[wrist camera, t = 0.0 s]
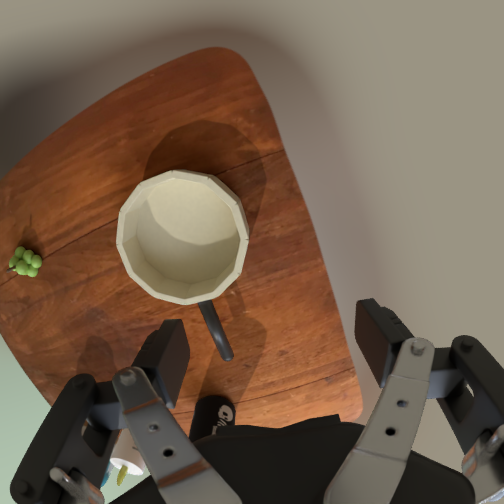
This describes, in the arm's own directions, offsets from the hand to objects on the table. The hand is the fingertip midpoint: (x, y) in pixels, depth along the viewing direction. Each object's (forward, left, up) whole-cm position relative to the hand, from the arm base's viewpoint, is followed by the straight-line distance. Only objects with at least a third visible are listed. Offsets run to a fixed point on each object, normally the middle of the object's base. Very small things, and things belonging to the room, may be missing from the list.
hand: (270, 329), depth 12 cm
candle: (+10, -44, -21) cm, 50 cm away
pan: (-2, -8, -21) cm, 22 cm away
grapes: (-24, -28, -21) cm, 42 cm away
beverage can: (+15, -26, -21) cm, 36 cm away
